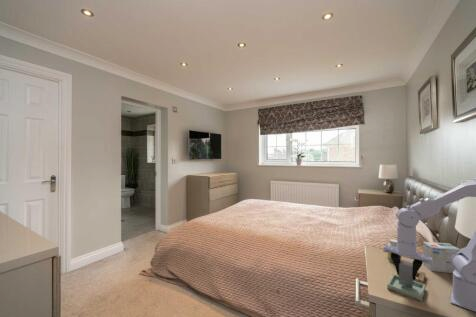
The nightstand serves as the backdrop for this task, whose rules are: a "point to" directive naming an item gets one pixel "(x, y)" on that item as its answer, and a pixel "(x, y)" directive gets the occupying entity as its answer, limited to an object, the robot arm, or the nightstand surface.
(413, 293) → the sage tray
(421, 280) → the oak holder
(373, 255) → the nightstand surface
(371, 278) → the nightstand surface
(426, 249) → the light bulb box
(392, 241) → the supplement bottle
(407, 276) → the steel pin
